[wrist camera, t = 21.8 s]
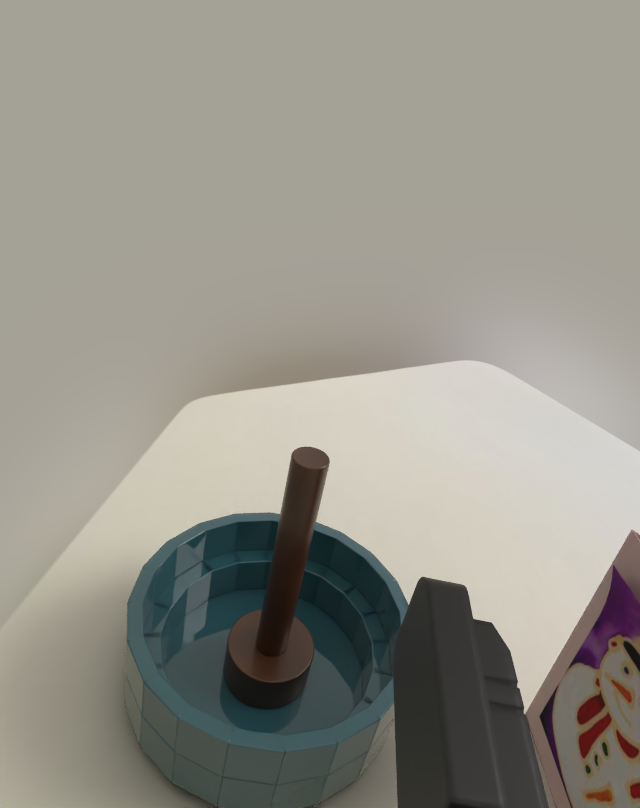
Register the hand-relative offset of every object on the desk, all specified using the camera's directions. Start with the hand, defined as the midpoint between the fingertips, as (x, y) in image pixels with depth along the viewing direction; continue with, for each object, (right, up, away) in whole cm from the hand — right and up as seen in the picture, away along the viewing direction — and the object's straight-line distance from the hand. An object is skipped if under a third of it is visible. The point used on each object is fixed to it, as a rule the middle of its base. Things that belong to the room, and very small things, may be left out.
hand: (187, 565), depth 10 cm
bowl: (-1, -14, +25) cm, 28 cm away
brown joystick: (-1, -13, +24) cm, 27 cm away
